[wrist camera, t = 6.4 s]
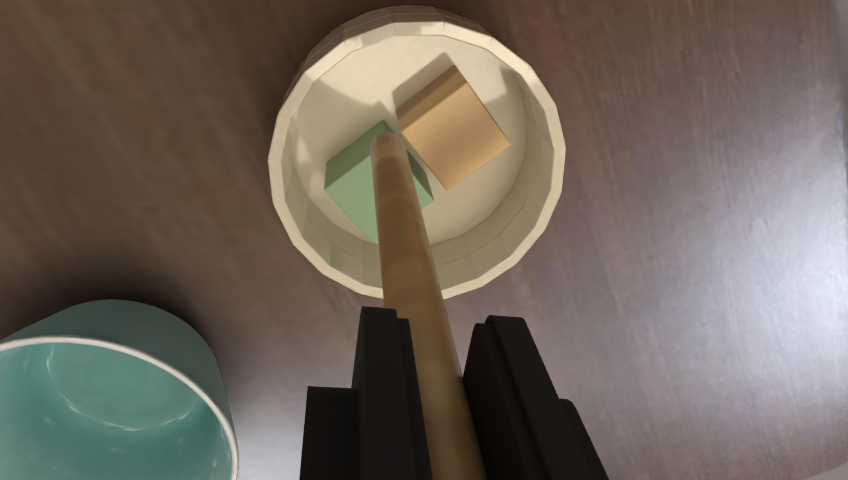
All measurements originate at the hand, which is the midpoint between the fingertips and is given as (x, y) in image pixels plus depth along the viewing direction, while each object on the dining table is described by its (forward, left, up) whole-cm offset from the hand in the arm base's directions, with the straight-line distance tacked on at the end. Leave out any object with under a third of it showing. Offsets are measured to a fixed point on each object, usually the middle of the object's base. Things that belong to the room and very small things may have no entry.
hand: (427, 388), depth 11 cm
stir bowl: (+4, -1, -27) cm, 27 cm away
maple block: (+4, +1, -26) cm, 26 cm away
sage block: (+4, -3, -26) cm, 26 cm away
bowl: (+5, -24, -27) cm, 36 cm away
